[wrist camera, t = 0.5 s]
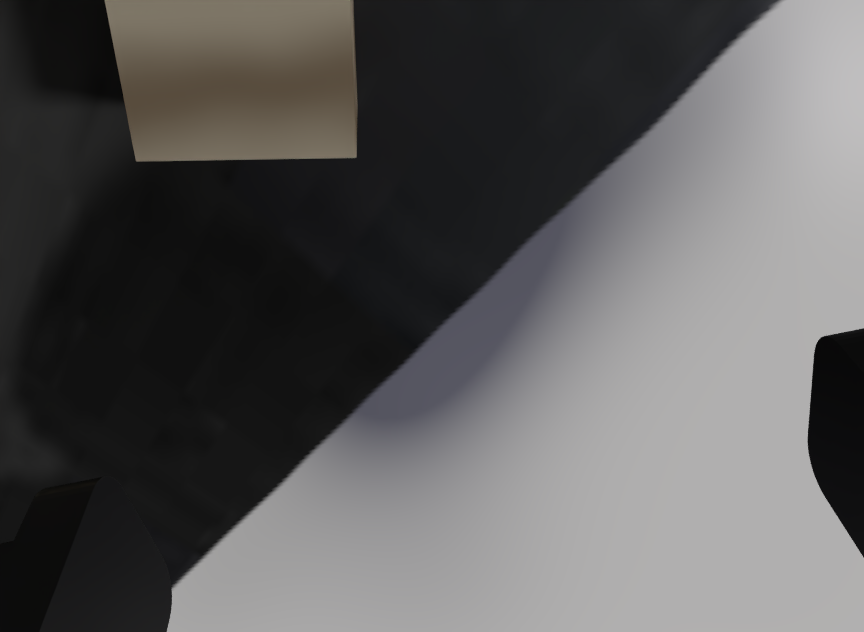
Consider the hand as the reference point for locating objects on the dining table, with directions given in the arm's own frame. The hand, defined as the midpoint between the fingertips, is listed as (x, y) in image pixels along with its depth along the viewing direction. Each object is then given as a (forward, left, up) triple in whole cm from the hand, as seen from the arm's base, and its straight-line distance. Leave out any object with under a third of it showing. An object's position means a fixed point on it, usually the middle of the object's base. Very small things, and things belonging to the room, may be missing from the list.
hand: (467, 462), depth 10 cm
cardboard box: (-4, -6, -28) cm, 29 cm away
